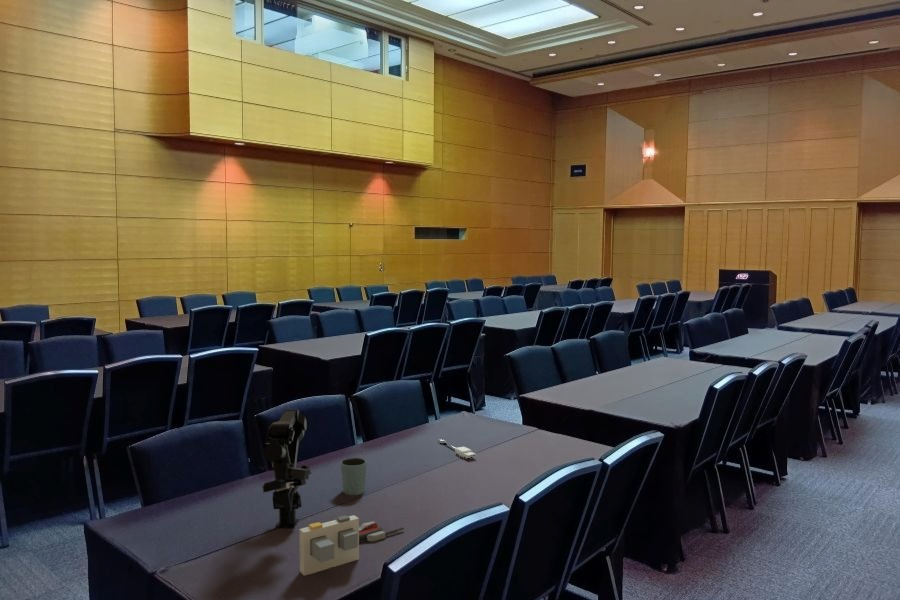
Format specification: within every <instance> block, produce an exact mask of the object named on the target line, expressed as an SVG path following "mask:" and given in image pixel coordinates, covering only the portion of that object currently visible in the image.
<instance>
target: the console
mask: <svg viewBox="0 0 900 600" xmlns="http://www.w3.org/2000/svg"><path fill="white" fill-rule="evenodd" d="M359 524H360V518H359V517H358V516H357V515H349V516H348V515H347V514H345V515H341V516H337V517H336V519H334V520H330V521H326V522H322V523H321V522H320V521H318V522H314V523H309V524H308V526H306V527H302V528H299V573H301V575H303V576H304V577H305V576H307V575H308V576H309V575H312V574H315V573H318V572H321V571H325V570H329V569H331V567H332V568H335V567H338V566H342V565H344V564H349V563H351V562H355V561H359V560H360V543H359V527H360V525H359ZM347 529H353V530H354V531H356V532H357V533H358V547H357V548H353V549H350V550H346V551H344V550H343V549H341V548H340V547H339V546H338V532H339V531H343V530H347ZM321 536H325V537H326V538H328V539H329V540H330V541H331V542H333V543H334V559H331V560H327V561H324V562H319V561H318V560H317V559H316V558H315V557H313V556H312V555H311V554H310V539H313V538H317V537H321Z"/></svg>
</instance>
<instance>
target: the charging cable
mask: <svg viewBox="0 0 900 600" xmlns="http://www.w3.org/2000/svg"><path fill="white" fill-rule="evenodd" d="M439 440H440V441H445V442H446V440H445V439H443V440H442V439H439ZM451 446H452V447H453V448H452V449H454V448H455V449H454V452H457V453H458V454H460V455H462V456H465V457H466V458H465V459H467V458H468V457H470V456H475V457H477V453H475V452H473V450H472V449H470V448H468V447H466V446H459V447H455V446H453V445H451Z"/></svg>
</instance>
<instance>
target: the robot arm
mask: <svg viewBox="0 0 900 600" xmlns="http://www.w3.org/2000/svg"><path fill="white" fill-rule="evenodd" d="M307 422H308V421H307V419H306V415H304V414H302V413H300V411H299V409H297V408H286V409H283V413H282V415H281V417H280V419H279V420H278V421H274V422H272V423H271V424H270V426H269V427H268V429H267V434H266V437H265V440H264V442H265V444H266V446H265V447H264V449H263V456H264V457H265V459H266V460H267V461H268V462H271V466H272V467H270V468H269V469H270V470H269V471H270V472H272V473H273V479H274V480H272V481H266V482H264V484H263V485H262V492H263V493H269V492H272V505H273V507H272V508H273V510H278V522H277V523H276V524H275V528H279V529H280V528H282V529H294V528H295V527H296V525H298V523H299V521H300V519H299V518H297V510H299V509H300V508H302V507H303V505H302V503H303V502H302V497H301V495H300V492H299V487H302V486H304V485H307V481H306V480H309V476H310V475H311V474H312V472H311V469H310V465H306V464H304V465H301V467H297V462H298V460H297V459H298V452H299V443H300V442H301V441H302V439H303V438H304V437H305V431H307V427H308V426H307Z"/></svg>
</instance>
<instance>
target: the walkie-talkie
mask: <svg viewBox="0 0 900 600" xmlns="http://www.w3.org/2000/svg"><path fill="white" fill-rule="evenodd" d="M403 530H405V527H403V526H402V527H399V528H395V529H391V530H389V531H388V530H387V531H383V527H382V526H380V525H379V524H377V523H376V522H375V521H374V520H373V521H372V520H370V521H368V522H364V523H362V524H361V525H359V544H360V543H363V542H367V541H368V542H376V541H380V540H384V539H386V537H387V536H389V535H392V534H395V533H398V532H399V531H403Z"/></svg>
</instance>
